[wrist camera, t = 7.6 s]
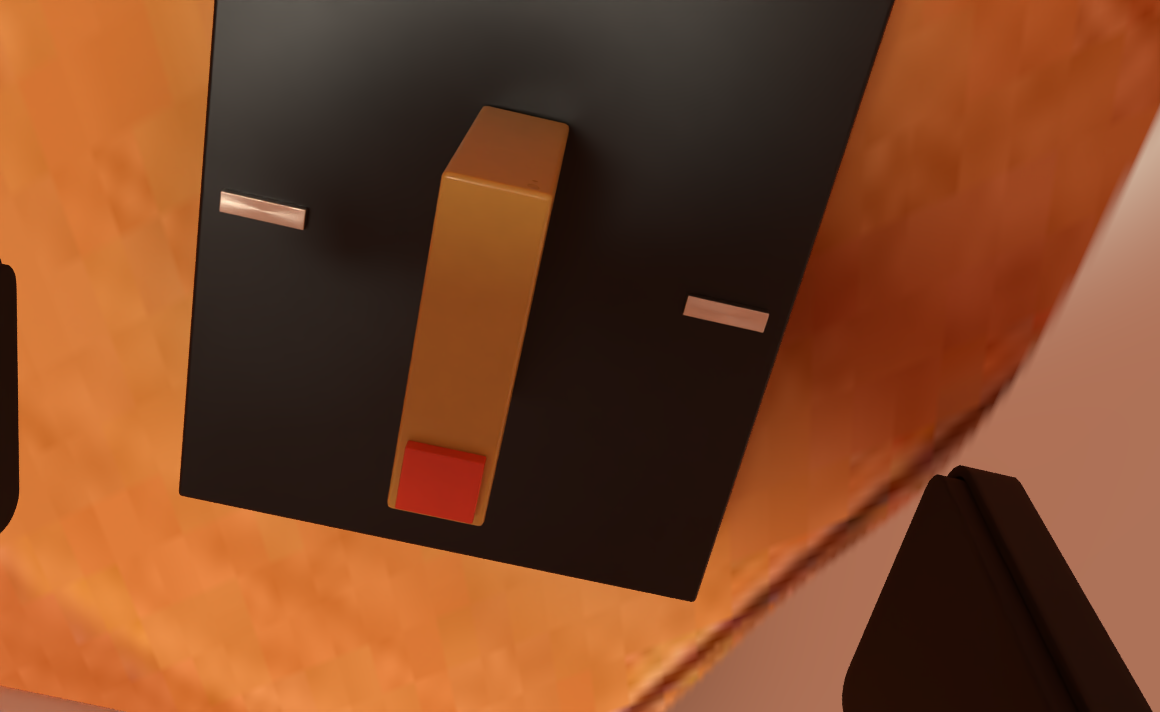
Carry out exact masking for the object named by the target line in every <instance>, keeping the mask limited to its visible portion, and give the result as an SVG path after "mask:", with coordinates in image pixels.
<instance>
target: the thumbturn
mask: <svg viewBox="0 0 1160 712" xmlns="http://www.w3.org/2000/svg"><path fill="white" fill-rule="evenodd" d="M568 133H569V126H568V125H566V124H565V123H560V122H556V121H552V120H547V119H543V118H538V117H534V116H530V115H525V114H521V113H516V112H512V111H508V110H503V109H499V108H494V107H490V106H483V108H482V109H481V111H480V112H479V114H478V116H477V117H476V119H475V121H474V122H473V124H472V126H471V127H470V129H469V131H468V132H467V134H466V136H465V137H464V139H463V141H462V142H461V144H460V146H459V147H458V149H457V151H456V152H455V154H454V156H453V157H452V159H451V161H450V162H449V164H448V166H447V167H446V169H445V171H444V172H443V174H442V176H441V182H440V188H439V194H438V200H437V206H436V212H435V218H434V224H433V230H432V236H431V242H430V248H429V254H428V260H427V266H426V272H425V278H424V284H423V290H422V296H421V302H420V308H419V314H418V320H417V326H416V332H415V338H414V344H413V350H412V356H411V362H410V368H409V374H408V380H407V386H406V392H405V398H404V404H403V410H402V416H401V422H400V428H399V434H398V440H397V446H396V452H395V458H394V464H393V470H392V476H391V482H390V488H389V494H388V500H387V503H388V506H389V507H390V508H394V509H398V510H403V511H408V512H413V513H418V514H423V515H428V516H432V517H437V518H442V519H447V520H452V521H457V522H461V523H466V524H471V525H476V526H481V525H482V524H483V522H484V520H485V516H486V511H487V507H488V502H489V498H490V493H491V488H492V484H493V479H494V475H495V470H496V466H497V461H498V457H499V452H500V448H501V443H502V439H503V434H504V430H505V425H506V421H507V416H508V411H509V407H510V402H511V398H512V393H513V389H514V384H515V379H516V375H517V370H518V365H519V361H520V356H521V351H522V347H523V342H524V337H525V333H526V328H527V323H528V319H529V314H530V309H531V305H532V300H533V296H534V291H535V286H536V282H537V277H538V272H539V268H540V263H541V258H542V254H543V249H544V244H545V240H546V235H547V230H548V226H549V221H550V216H551V212H552V207H553V202H554V198H555V193H556V189H557V184H558V179H559V175H560V170H561V165H562V161H563V156H564V151H565V147H566V142H567V137H568Z"/></svg>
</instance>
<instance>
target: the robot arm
mask: <svg viewBox="0 0 1160 712" xmlns="http://www.w3.org/2000/svg"><path fill="white" fill-rule="evenodd" d="M18 498H19V438H18V363H17V289H16V276H15V273H14V271H13V269H12V268H11V267H10V266H9V265H5V264H2V263H1V259H0V533H1V532H2V531H3V530H4V529H5V527H6V526H7V525H8V524H9V522H10V520H11V518H12V516H13V514H14V512H15V509H16V506H17V502H18ZM842 706H843V712H1152V710H1151V708H1150V706H1149V705H1148V703H1147V701H1146V699H1145V698H1144V696H1143V694H1142V693H1141V691H1140V689H1139V687H1138V686H1137V684H1136V682H1135V680H1134V679H1133V677H1132V675H1131V673H1130V672H1129V670H1128V668H1127V667H1126V665H1125V663H1124V661H1123V660H1122V658H1121V656H1120V654H1119V653H1118V651H1117V649H1116V647H1115V646H1114V644H1113V642H1112V641H1111V639H1110V637H1109V635H1108V634H1107V632H1106V630H1105V628H1104V627H1103V625H1102V623H1101V621H1100V620H1099V618H1098V616H1097V615H1096V613H1095V611H1094V609H1093V608H1092V606H1091V604H1090V603H1089V601H1088V599H1087V598H1086V596H1085V594H1084V592H1083V590H1082V589H1081V587H1080V585H1079V583H1078V582H1077V580H1076V578H1075V576H1074V575H1073V573H1072V571H1071V570H1070V568H1069V566H1068V564H1067V563H1066V561H1065V559H1064V557H1063V556H1062V554H1061V552H1060V551H1059V549H1058V547H1057V545H1056V544H1055V542H1054V540H1053V538H1052V537H1051V535H1050V533H1049V531H1048V530H1047V528H1046V526H1045V524H1044V523H1043V521H1042V519H1041V518H1040V516H1039V514H1038V512H1037V511H1036V509H1035V507H1034V505H1033V504H1032V502H1031V500H1030V498H1029V497H1028V495H1027V493H1026V492H1025V490H1024V488H1023V486H1022V485H1021V483H1020V482H1019V481H1018V480H1017V479H1016V478H1015V477H1010V476H1006V475H1001V474H997V473H992V472H988V471H984V470H979V469H975V468H970V467H966V466H961V465H959V466H957V467H955V468H954V469H953V470H952V471H951V472H950V473H949V474H948V476H942V475H938V474H937V475H936V476H934V477H933V478H932V479H931V480H930V481H929V483H928V485H927V487H926V489H925V491H924V493H923V496H922V498H921V500H920V503H919V505H918V507H917V510H916V512H915V514H914V517H913V519H912V521H911V524H910V526H909V528H908V531H907V533H906V535H905V538H904V540H903V542H902V545H901V547H900V549H899V552H898V554H897V556H896V559H895V561H894V564H893V566H892V568H891V570H890V573H889V575H888V577H887V580H886V582H885V584H884V587H883V589H882V591H881V594H880V596H879V598H878V601H877V603H876V605H875V608H874V610H873V612H872V615H871V617H870V619H869V622H868V624H867V627H866V629H865V631H864V634H863V636H862V638H861V640H860V643H859V645H858V647H857V650H856V652H855V654H854V657H853V659H852V661H851V664H850V666H849V669H848V671H847V674H846V677H845V681H844V685H843V693H842ZM0 712H124V711H119V710H115V709H110V708H105V707H100V706H95V705H91V704H86V703H81V702H76V701H71V700H67V699H62V698H57V697H52V696H47V695H43V694H38V693H33V692H28V691H23V690H19V689H14V688H9V687H4V686H0Z"/></svg>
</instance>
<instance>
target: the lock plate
mask: <svg viewBox="0 0 1160 712" xmlns="http://www.w3.org/2000/svg"><path fill="white" fill-rule="evenodd" d="M894 2H895V0H214V14H213V28H212V42H211V55H210V69H209V83H208V97H207V111H206V124H205V138H204V152H203V166H202V180H201V193H200V207H199V221H198V235H197V248H196V262H195V276H194V290H193V304H192V317H191V331H190V345H189V359H188V373H187V386H186V400H185V414H184V428H183V442H182V455H181V469H180V483H179V494H180V495H181V496H185V497H190V498H195V499H200V500H205V501H209V502H214V503H219V504H224V505H229V506H233V507H238V508H243V509H248V510H253V511H257V512H262V513H267V514H272V515H277V516H281V517H286V518H291V519H296V520H301V521H305V522H310V523H315V524H320V525H325V526H329V527H334V528H339V529H344V530H349V531H353V532H358V533H363V534H368V535H373V536H377V537H382V538H387V539H392V540H397V541H401V542H406V543H411V544H416V545H421V546H425V547H430V548H435V549H440V550H445V551H450V552H454V553H459V554H464V555H469V556H474V557H478V558H483V559H488V560H493V561H498V562H502V563H507V564H512V565H517V566H522V567H526V568H531V569H536V570H541V571H546V572H550V573H555V574H560V575H565V576H570V577H574V578H579V579H584V580H589V581H594V582H598V583H603V584H608V585H613V586H618V587H622V588H627V589H632V590H637V591H642V592H646V593H651V594H656V595H661V596H666V597H670V598H675V599H680V600H685V601H690V602H694V601H695V599H696V597H697V594H698V591H699V588H700V585H701V582H702V579H703V576H704V573H705V570H706V567H707V564H708V561H709V558H710V555H711V552H712V549H713V546H714V543H715V540H716V537H717V534H718V531H719V528H720V525H721V522H722V519H723V516H724V513H725V510H726V507H727V504H728V501H729V498H730V495H731V492H732V489H733V486H734V483H735V480H736V477H737V474H738V471H739V468H740V465H741V462H742V459H743V456H744V453H745V450H746V447H747V444H748V441H749V438H750V435H751V432H752V429H753V426H754V423H755V420H756V417H757V414H758V411H759V408H760V405H761V402H762V399H763V396H764V393H765V390H766V387H767V384H768V381H769V378H770V375H771V372H772V369H773V366H774V363H775V360H776V357H777V354H778V351H779V348H780V345H781V342H782V339H783V336H784V333H785V330H786V327H787V324H788V321H789V318H790V315H791V312H792V309H793V306H794V303H795V300H796V297H797V294H798V291H799V288H800V285H801V282H802V278H803V275H804V272H805V269H806V266H807V263H808V260H809V257H810V254H811V251H812V248H813V245H814V242H815V239H816V236H817V233H818V230H819V227H820V224H821V221H822V218H823V215H824V212H825V209H826V206H827V203H828V200H829V197H830V194H831V191H832V188H833V185H834V182H835V179H836V176H837V173H838V170H839V167H840V164H841V161H842V158H843V155H844V152H845V149H846V146H847V143H848V140H849V137H850V134H851V131H852V128H853V125H854V122H855V119H856V116H857V113H858V110H859V107H860V104H861V101H862V98H863V95H864V92H865V89H866V86H867V83H868V80H869V77H870V74H871V71H872V68H873V65H874V62H875V59H876V56H877V53H878V50H879V47H880V44H881V41H882V38H883V35H884V32H885V29H886V26H887V23H888V20H889V17H890V14H891V11H892V8H893V5H894ZM483 106H490V107H494V108H499V109H503V110H508V111H512V112H516V113H521V114H525V115H530V116H534V117H538V118H543V119H547V120H552V121H556V122H560V123H565V124H566V125H568V126H569V133H568V137H567V142H566V147H565V151H564V156H563V161H562V165H561V170H560V175H559V179H558V184H557V189H556V193H555V198H554V202H553V207H552V212H551V216H550V221H549V226H548V230H547V235H546V240H545V244H544V249H543V254H542V258H541V263H540V268H539V272H538V277H537V282H536V286H535V291H534V296H533V300H532V305H531V309H530V314H529V319H528V323H527V328H526V333H525V337H524V342H523V347H522V351H521V356H520V361H519V365H518V370H517V375H516V379H515V384H514V389H513V393H512V398H511V402H510V407H509V411H508V416H507V421H506V425H505V430H504V434H503V439H502V443H501V448H500V452H499V457H498V461H497V466H496V470H495V475H494V479H493V484H492V488H491V493H490V498H489V502H488V507H487V511H486V516H485V520H484V522H483V524H482V525H481V526H476V525H471V524H466V523H461V522H457V521H452V520H447V519H442V518H437V517H432V516H428V515H423V514H418V513H413V512H408V511H403V510H398V509H394V508H390V507H389V506H388V503H387V500H388V494H389V488H390V482H391V476H392V470H393V464H394V458H395V452H396V446H397V440H398V434H399V428H400V422H401V416H402V410H403V404H404V398H405V392H406V386H407V380H408V374H409V368H410V362H411V356H412V350H413V344H414V338H415V332H416V326H417V320H418V314H419V308H420V302H421V296H422V290H423V284H424V278H425V272H426V266H427V260H428V254H429V248H430V242H431V236H432V230H433V224H434V218H435V212H436V206H437V200H438V194H439V188H440V182H441V176H442V174H443V172H444V171H445V169H446V167H447V166H448V164H449V162H450V161H451V159H452V157H453V156H454V154H455V152H456V151H457V149H458V147H459V146H460V144H461V142H462V141H463V139H464V137H465V136H466V134H467V132H468V131H469V129H470V127H471V126H472V124H473V122H474V121H475V119H476V117H477V116H478V114H479V112H480V111H481V109H482V108H483Z"/></svg>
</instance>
